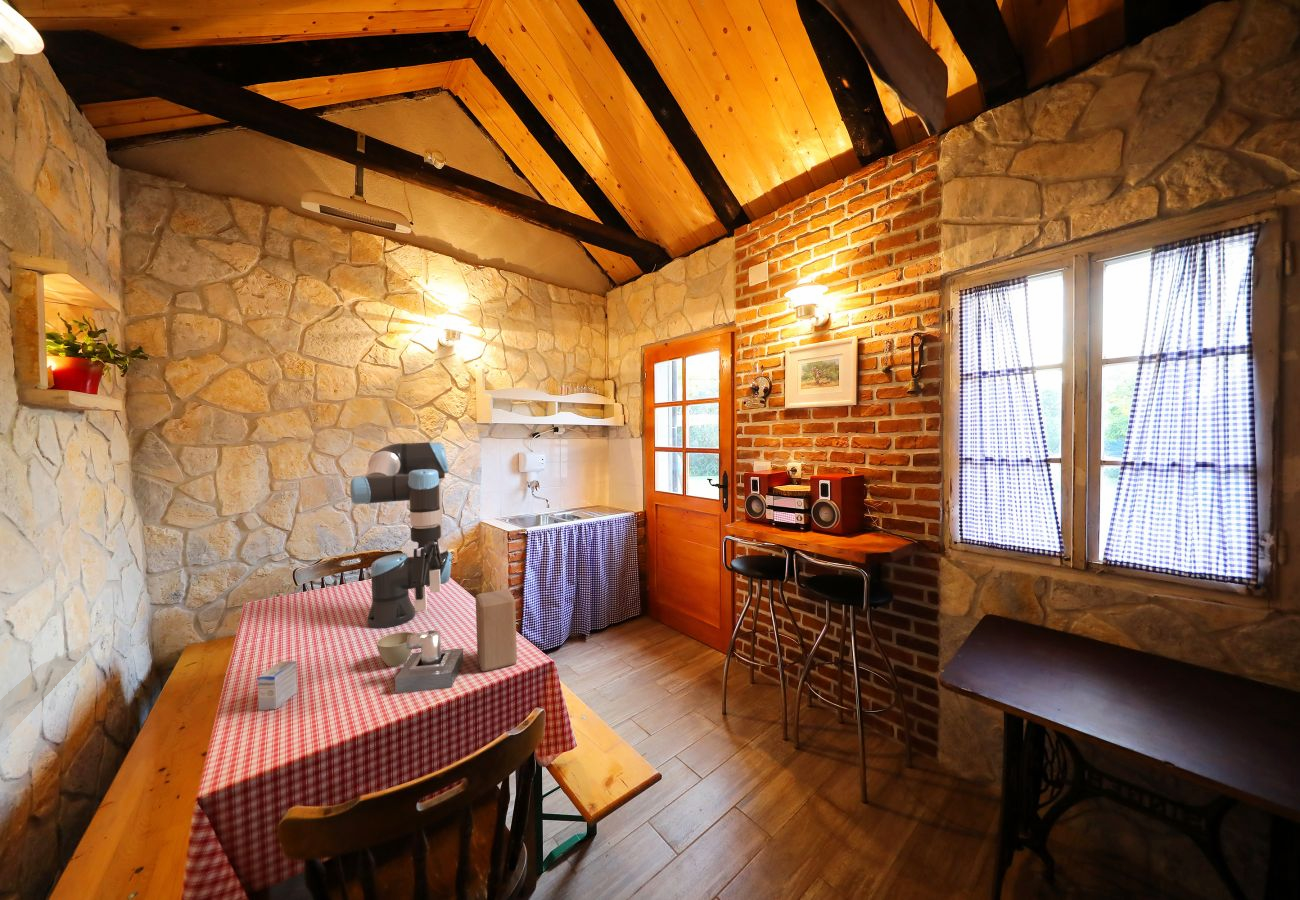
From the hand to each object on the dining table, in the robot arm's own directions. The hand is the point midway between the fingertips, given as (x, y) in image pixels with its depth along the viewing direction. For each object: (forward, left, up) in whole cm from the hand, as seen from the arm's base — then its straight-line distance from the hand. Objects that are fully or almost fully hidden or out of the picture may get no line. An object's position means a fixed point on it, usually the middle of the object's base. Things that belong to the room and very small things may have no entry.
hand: (428, 600), depth 128 cm
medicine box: (+5, -36, -22) cm, 42 cm away
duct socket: (0, 0, -22) cm, 22 cm away
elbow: (0, -1, -22) cm, 22 cm away
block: (-5, +17, -22) cm, 28 cm away
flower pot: (-11, -13, -22) cm, 27 cm away
